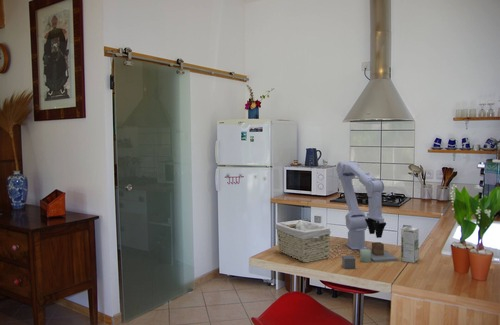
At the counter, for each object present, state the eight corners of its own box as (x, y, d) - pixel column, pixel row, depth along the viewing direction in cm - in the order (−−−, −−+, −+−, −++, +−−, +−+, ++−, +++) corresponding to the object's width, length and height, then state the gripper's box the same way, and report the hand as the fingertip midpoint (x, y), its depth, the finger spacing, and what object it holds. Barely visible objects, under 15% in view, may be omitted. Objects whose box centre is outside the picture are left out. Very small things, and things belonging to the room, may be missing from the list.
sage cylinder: (359, 260, 177) (358, 249, 176) (368, 259, 177) (368, 248, 177) (362, 263, 172) (362, 251, 172) (372, 262, 173) (372, 251, 172)
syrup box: (405, 258, 177) (404, 226, 177) (419, 260, 174) (418, 227, 173) (401, 261, 173) (400, 228, 173) (415, 263, 169) (414, 229, 169)
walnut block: (371, 253, 183) (371, 242, 183) (380, 252, 183) (380, 242, 183) (375, 255, 179) (375, 244, 179) (383, 255, 180) (383, 244, 179)
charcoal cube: (342, 266, 169) (342, 255, 169) (352, 265, 169) (352, 255, 169) (344, 269, 164) (344, 258, 164) (355, 268, 164) (355, 258, 164)
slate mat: (358, 251, 191) (358, 249, 191) (380, 250, 192) (380, 248, 192) (374, 262, 173) (374, 259, 173) (398, 260, 174) (398, 258, 174)
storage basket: (332, 258, 180) (332, 226, 179) (303, 264, 173) (302, 231, 172) (302, 247, 201) (301, 219, 201) (275, 252, 194) (274, 222, 193)
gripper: (360, 204, 189) (361, 232, 189) (373, 209, 174) (373, 239, 175) (374, 203, 189) (375, 231, 190) (388, 208, 175) (388, 238, 175)
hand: (375, 235), depth 182 cm, fingers open, 7 cm apart
